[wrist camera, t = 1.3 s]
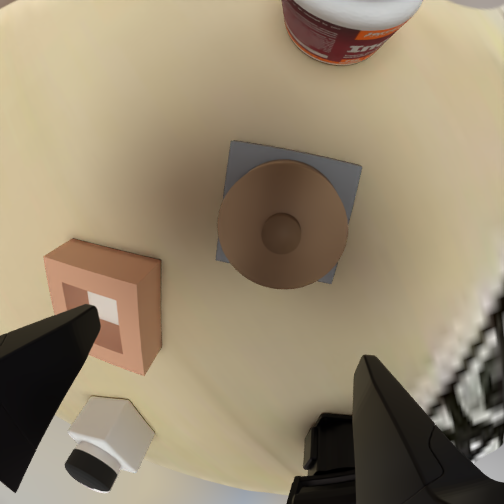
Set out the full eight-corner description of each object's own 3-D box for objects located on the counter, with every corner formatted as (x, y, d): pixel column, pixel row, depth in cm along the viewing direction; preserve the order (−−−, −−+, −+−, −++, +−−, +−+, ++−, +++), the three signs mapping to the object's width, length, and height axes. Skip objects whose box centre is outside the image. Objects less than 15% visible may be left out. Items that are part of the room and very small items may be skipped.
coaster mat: (359, 164, 18) (362, 167, 17) (330, 277, 21) (331, 284, 20) (234, 140, 18) (231, 141, 18) (219, 254, 22) (215, 260, 21)
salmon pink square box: (160, 260, 23) (136, 284, 19) (161, 347, 26) (144, 376, 23) (72, 238, 23) (43, 256, 20) (83, 320, 27) (62, 342, 23)
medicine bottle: (90, 394, 33) (47, 459, 22) (129, 398, 31) (85, 475, 20) (117, 427, 35) (83, 489, 24) (156, 433, 34) (123, 504, 23)
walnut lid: (352, 172, 17) (365, 183, 14) (326, 276, 20) (330, 306, 16) (237, 150, 18) (222, 155, 14) (223, 255, 21) (207, 281, 17)
